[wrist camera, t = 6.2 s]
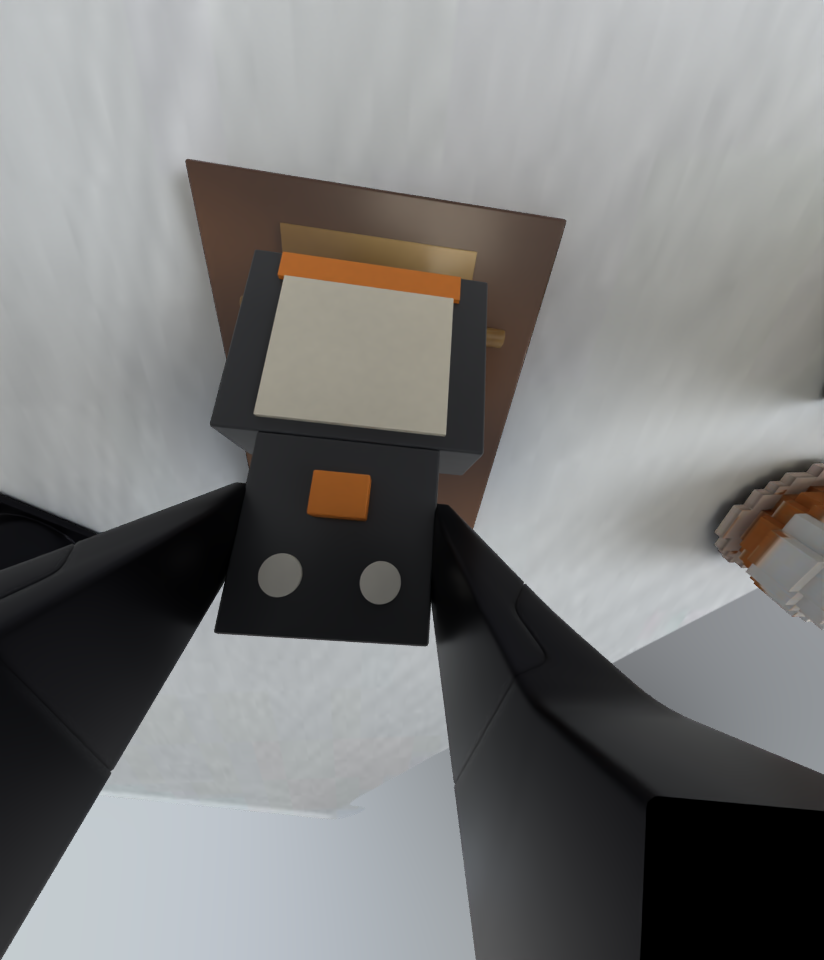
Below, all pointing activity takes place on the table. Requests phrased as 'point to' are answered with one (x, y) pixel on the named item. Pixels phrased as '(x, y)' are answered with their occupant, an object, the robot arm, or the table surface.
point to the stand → (386, 264)
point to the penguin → (346, 442)
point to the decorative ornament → (782, 541)
